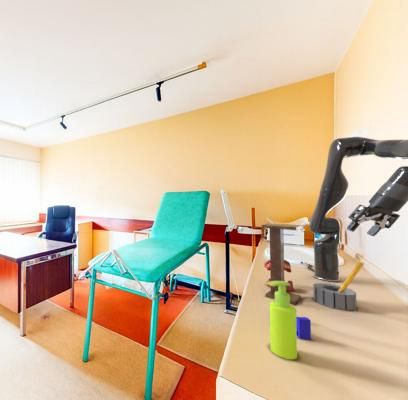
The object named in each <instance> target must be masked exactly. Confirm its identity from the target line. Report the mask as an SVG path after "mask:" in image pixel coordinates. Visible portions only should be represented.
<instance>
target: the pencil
mask: <svg viewBox="0 0 408 400" xmlns="http://www.w3.org/2000/svg"><path fill="white" fill-rule="evenodd" d="M364 265H365V262H363V261H361V260H360V261H358V262H357V263H356V265H355V266H354V268H353V269H352V271H351V272H350V273H349V274H348V276H347V278H346V279H345V280H344V282H343V283H342V285H340V286H341V287H340V289H339V290H338V292H344V291H345V289H346V288H348V287H349V286H350V284H351V283H352V282H353V280H354V278H355V277H357V274H358V273H359V272H360V271H361V269H363V266H364Z"/></svg>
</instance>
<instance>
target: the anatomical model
mask: <svg viewBox="0 0 408 400" xmlns="http://www.w3.org/2000/svg"><path fill="white" fill-rule="evenodd" d="M263 264H264V268H265V269H266V271H269V272H270V259H268V260H266V261H265V262H264V263H263ZM284 272H286V273H290V274H291V273H292V267H291V263H290V262H289V261H288V260H286V259H284ZM267 282H271V277H270V278H268V280H267V281H266V286H267V287H269V288H270V289H271V286H270V285H268V284H267ZM286 282H287V283H289V285H286V292H290V293H293V291H294V283H293V281H292V280H287V281H286Z"/></svg>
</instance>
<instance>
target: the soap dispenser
mask: <svg viewBox="0 0 408 400" xmlns="http://www.w3.org/2000/svg"><path fill="white" fill-rule="evenodd" d="M287 282H288V281H285V280H284V281H271V282H267V281H266V285H267V284H268V285H270V286H273V287H274V286H278V291H276V292H275V299H274V301H270V302H269V343H270V344H269V348H270V351H271V352H272V353H274V354H275V355H277V356H278V357H280V358H283V359H285V360H296V359H297V358H298V337H297V328H296V317H297V308H296V307H295V305H293V304H290V295H289V294H288V293H286V285H289V283H287Z"/></svg>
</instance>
